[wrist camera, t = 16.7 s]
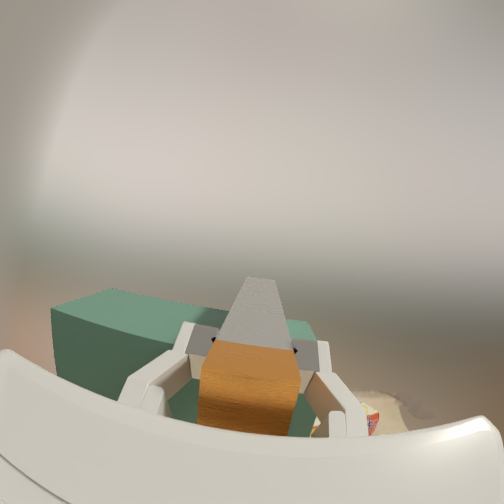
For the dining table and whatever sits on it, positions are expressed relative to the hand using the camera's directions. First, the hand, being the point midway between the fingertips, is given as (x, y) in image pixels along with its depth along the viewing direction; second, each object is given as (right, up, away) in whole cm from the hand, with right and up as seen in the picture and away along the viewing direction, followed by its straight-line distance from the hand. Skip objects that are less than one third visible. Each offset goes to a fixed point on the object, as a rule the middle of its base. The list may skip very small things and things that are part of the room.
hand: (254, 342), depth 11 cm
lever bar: (0, -2, +7) cm, 8 cm away
